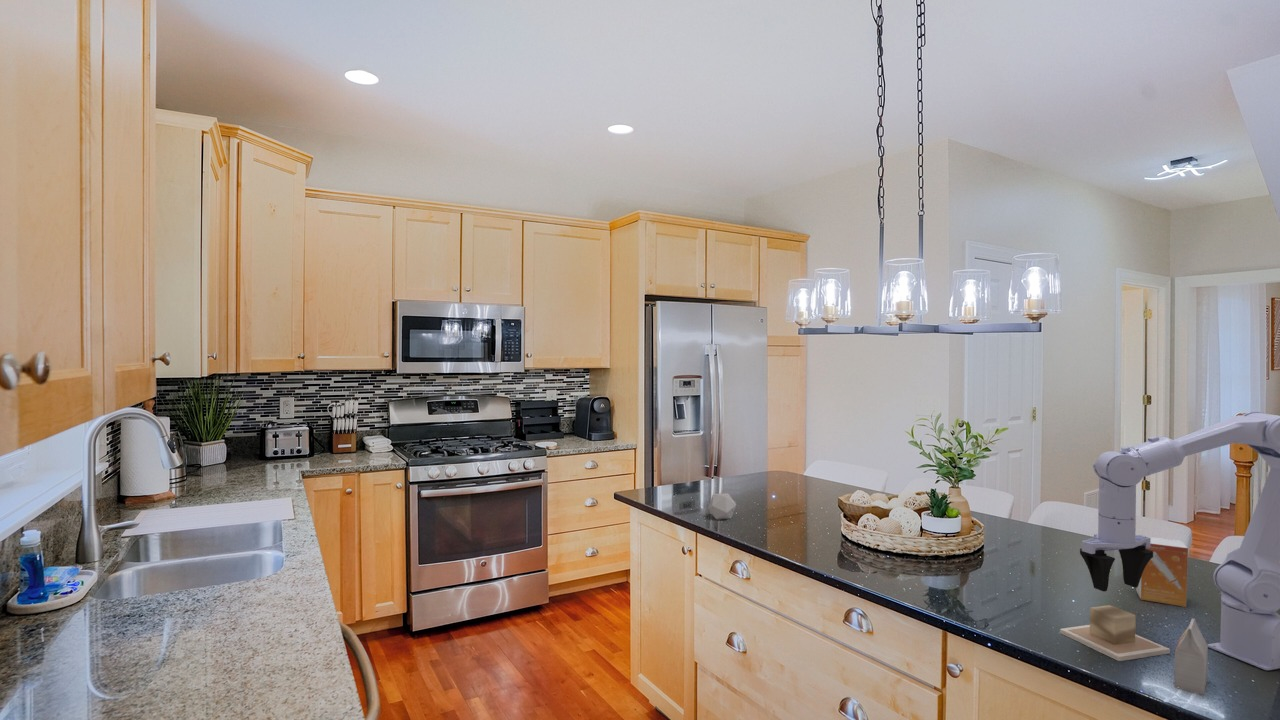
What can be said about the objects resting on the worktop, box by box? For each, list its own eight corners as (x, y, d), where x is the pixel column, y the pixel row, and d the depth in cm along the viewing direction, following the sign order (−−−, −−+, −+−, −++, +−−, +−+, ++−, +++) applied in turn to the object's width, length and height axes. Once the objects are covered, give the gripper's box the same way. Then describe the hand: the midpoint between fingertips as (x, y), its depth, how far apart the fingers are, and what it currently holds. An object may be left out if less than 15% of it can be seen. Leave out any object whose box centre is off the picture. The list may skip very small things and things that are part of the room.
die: (731, 524, 208) (743, 498, 211) (708, 511, 208) (720, 484, 211) (723, 527, 215) (735, 501, 219) (700, 514, 215) (712, 488, 219)
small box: (1140, 600, 145) (1141, 541, 144) (1135, 591, 150) (1136, 534, 150) (1187, 607, 141) (1188, 547, 140) (1180, 598, 146) (1182, 540, 146)
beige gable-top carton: (1207, 680, 110) (1208, 621, 110) (1203, 695, 105) (1204, 633, 105) (1178, 672, 113) (1179, 614, 112) (1174, 686, 108) (1175, 626, 108)
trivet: (1169, 653, 120) (1170, 648, 120) (1119, 661, 116) (1119, 656, 116) (1107, 626, 131) (1107, 621, 131) (1059, 632, 128) (1059, 628, 128)
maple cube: (1135, 641, 122) (1135, 615, 122) (1114, 644, 121) (1115, 618, 121) (1109, 630, 127) (1109, 605, 127) (1089, 633, 126) (1089, 607, 126)
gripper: (1125, 508, 130) (1124, 576, 130) (1067, 513, 126) (1066, 583, 126) (1162, 517, 123) (1161, 589, 123) (1102, 523, 119) (1101, 597, 119)
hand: (1115, 587), depth 124 cm, fingers open, 7 cm apart
